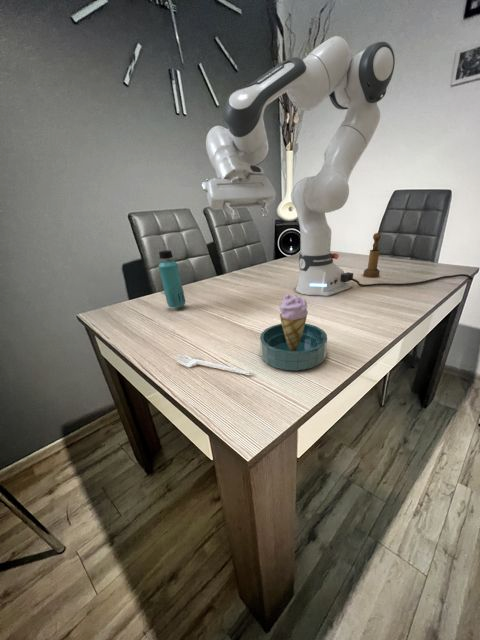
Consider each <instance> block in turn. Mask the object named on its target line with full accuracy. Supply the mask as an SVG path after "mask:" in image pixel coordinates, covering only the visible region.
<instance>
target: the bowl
mask: <svg viewBox="0 0 480 640" xmlns="http://www.w3.org/2000/svg"><path fill="white" fill-rule="evenodd" d="M259 342H260V343H259V347H260V356H261V358H262V360H263V361H264V362H265V363H266V364H267V365H269V366H271V367H273V368H275V369H280V370H283V371H284V370H285V371H301V370H302V371H303V370H309V369H311V368H315V367H317V366H319V365H321V363H323V362H324V361H325V359H326V358H327V349H328V334H327V333H326V331H324V330H323V329H322V328H321V327H319V326H316V325H314V324H310V323H305V326H304V330H303V333H302V337H301V340H300V343H299V346H298V349H297V351H289V348H288V345H287V342H286V339H285V335H284V332H283V328H282V323H277V324H274V325H271V326H269V327H267V328H265V329H264V330H263V331H262V332H261V333H260V337H259Z"/></svg>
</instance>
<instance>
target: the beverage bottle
mask: <svg viewBox="0 0 480 640" xmlns="http://www.w3.org/2000/svg"><path fill="white" fill-rule="evenodd" d="M158 255H159V259H161V260H163V261H161V262H160V263H159V264H158V269H159V274H160V277H161V283H162V286H163V287H162V288H163V291H164V297H165V299H166V300H165V301H166V304H167V306H168V307H169V308H180V307H183V306H185V305H186V298H185V292H184V288H183V284H182V278H181V273H180V270H179V264H178V262H176V261H175V260H172V258H173V252H172V250H170V249H169V250H167V249H166V250H160V251H159V252H158ZM165 259H171V260H165Z"/></svg>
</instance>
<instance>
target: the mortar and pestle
mask: <svg viewBox="0 0 480 640" xmlns="http://www.w3.org/2000/svg"><path fill="white" fill-rule="evenodd" d="M381 237H382V235H381V233H380V232H375V233H374V234H373V235H372V238H373V241H374V242H373V244H372V249H370V250H369V257H368V263H367V268H366V269H364V270H363V277H364V278H370V279H374V278H375V279H376V278H379V277H380V272H381V271H380V270H379V268H378V264H379V258H380V251H381V250H380V249H378V247H379V241H380V239H381Z"/></svg>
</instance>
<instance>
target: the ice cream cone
mask: <svg viewBox="0 0 480 640" xmlns="http://www.w3.org/2000/svg"><path fill="white" fill-rule="evenodd" d="M281 299H282V300H283V301H282V302H280V304H281V305H279V311H280V313H279V318H280V324H282V328H283V332H284V335H285V339H286V342H287V345H288V348H289V351H297V349H298V346H299V343H300V340H301V337H302V333H303V330H304V326H305V324H306V321H307V317H308V314H309V312H308V303H307V301H306V299H304V298H303V297H302V296H299V297H298V296H297V295H294V294H289V293H287V294H284V297H282V298H281Z"/></svg>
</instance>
